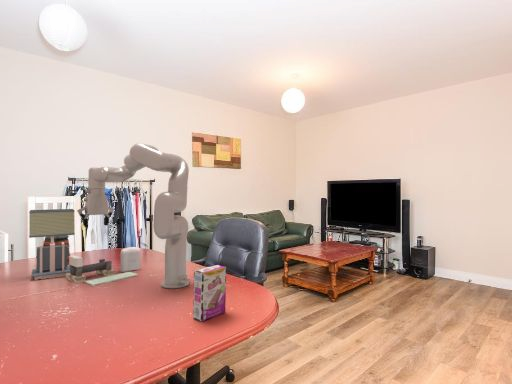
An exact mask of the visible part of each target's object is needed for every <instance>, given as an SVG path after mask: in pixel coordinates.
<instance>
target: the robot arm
mask: <svg viewBox="0 0 512 384" xmlns="http://www.w3.org/2000/svg"><path fill="white" fill-rule="evenodd" d="M144 168H148V169H151V170H153V171H155V172H160V173H161V172H163V173H171V175H170V177H169V179H168V184H167V185H168V187H167V191H163V192H160V193H159V194H158V195H157V196H156V198H155V200H154V206H153V207H154V208H153V224H152V225H153V233H154V234H155V236H156V237H158V239H161V240H165V244H164V245H165V246H164V280H162V281H161V282H160V286H161V287H162V288H165V289H180V288H186V287H187V286H189V285H190V282H191V279H189V278H188V274H187V241H188V233H189V222H188V220H187V218H186V217H184V216H183V215H178V214H177V213H182V212H184V211H185V210H186V208H187V203H188V183H189V181H188V180H189V171H190V169H189V166H188V163H187V162H186V160H185V159H184V158H183V157H181V156H179V155H176V154H172V153H167V152H162V151H159V149H158V148H157V147H156V146H155V145H151V144H145V143H141V142H140V143H135V144H134V145H132V146H131V148H130V149H129V154H128V155H125V156H124V158H123V165H122V166H120V167H113V166H110V167H109V166H101V167H89V169H88V178H87V179H88V183H87V184H88V185H87V186H88V188H87V189H85V193H86V197H85V201H84V206H83V207H81V208H79V209H77V210H76V211H77V213H78V215H79V216H80V217H81V218H82V219H83V220H82V221H83V222H82V225H83V228H88V227H89V219H88V218H89V217H90V216H98V215H99V216H100V215H102V216H104V217H103V225H104V226H109V219H110V217H111V216H112V214H113V213H114V211H115V208H113V207H111V206H109V202H108V201H109V200H108V195H107V194H106V183H116V184H117V183H123V182H125V181H128V180H129V179H131V178H133V177H134V176H135V174H136V173H137V172H138V171H140V170H142V169H144ZM83 211H84V213H83ZM175 213H176V214H177V215H175Z"/></svg>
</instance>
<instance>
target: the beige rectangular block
mask: <svg viewBox="0 0 512 384" xmlns="http://www.w3.org/2000/svg"><path fill="white" fill-rule="evenodd" d="M83 261H84V259H83V257H81V256H78V255H71V256H69V265H72V266H75V267H82V266H84V264H83V263H84V262H83Z"/></svg>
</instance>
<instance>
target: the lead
mask: <svg viewBox="0 0 512 384" xmlns="http://www.w3.org/2000/svg"><path fill="white" fill-rule="evenodd" d="M103 269H106V261H105V262H101V263H99V262H97V263H91V264H90V263H89V264H85V265H84V264H83V266H82V274H86V273H92V272H96V271H97V270H103ZM71 275H76V267H73V268H71Z"/></svg>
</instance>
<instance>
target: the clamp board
mask: <svg viewBox="0 0 512 384" xmlns="http://www.w3.org/2000/svg"><path fill="white" fill-rule="evenodd" d="M98 261H99V262H98V263H101V262H106V269H103V270H97V271H95V273H96V274H98V275H101V276H103V277H107V276H112V275H116V270H115V269H113V268H112V266H113V265H112V263H113V262H112V260H106V258H99V259H98ZM73 267H75V266H72V265H70V272H69V273H66V276H65V279H66V280H68V281H70V282H72V283H74V284H81V283H85V281H87V280H86V279H87V276H86V275H84V274H83V273H82V267H76V275H71V268H73Z"/></svg>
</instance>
